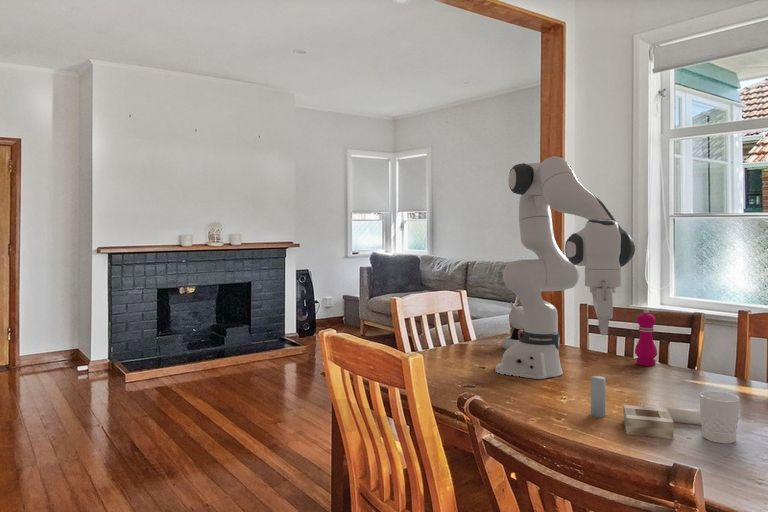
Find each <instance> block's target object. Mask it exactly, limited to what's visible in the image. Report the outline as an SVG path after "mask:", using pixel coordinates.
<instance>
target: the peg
mask: <svg viewBox="0 0 768 512" xmlns="http://www.w3.org/2000/svg"><path fill="white" fill-rule="evenodd" d="M590 416H591V417H594V418H605V417H606V377H604V376H601V375H592V376H590Z"/></svg>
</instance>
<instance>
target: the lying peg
mask: <svg viewBox="0 0 768 512" xmlns="http://www.w3.org/2000/svg"><path fill="white" fill-rule="evenodd" d="M663 408H665V409H667V410H668V412H669V414H670V416H671V418H672V420H673V422H674V423H677V424H688V425H700V426H702V425H701V416H700V409H691V408H682V407H681V408H679V407H672V406H671V407H669V406H665V407H663Z"/></svg>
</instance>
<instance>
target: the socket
mask: <svg viewBox="0 0 768 512" xmlns="http://www.w3.org/2000/svg"><path fill="white" fill-rule="evenodd" d="M622 409H623V410H622V412H623V415H622V417H623V420H622V421H623V424H624V431H625V433H626V435H631V436H639V437H647V438H648V437H650V438H659V439H666V440H667V439H668V440H674V433H675V432H674V428H675V427H674V423H675V422H673V420H672V418H671V416H670V414H669V412H668V410H667V409H665V408H664V407H654V406H653V407H652V406H641V405H629V404H628V405H627V404H623V408H622Z"/></svg>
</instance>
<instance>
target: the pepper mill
mask: <svg viewBox="0 0 768 512" xmlns="http://www.w3.org/2000/svg"><path fill="white" fill-rule="evenodd" d="M636 322H637V324H638V329H637V330H638V331H639V339H638V342H637V343H636V345H635V347H634V353H635V356H636V358H635V359H636V360H635V361H636V365H638V366H642V365H643V366H644V367H654V366H656V364H657V363H656V361H657V360H656V359H655V358H656V357H657V356H658V350H657V346H656V344H655V342H654V340H653V333H654V332H655V330H654V329H655V327H654V325H655V324H656V317H655V316H654V315H653V314H651V313H650V310H649V309H648V308H644V309H643V313H642V312H641V313H640V314H639V315H637V318H636ZM643 366H642V367H643Z"/></svg>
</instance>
